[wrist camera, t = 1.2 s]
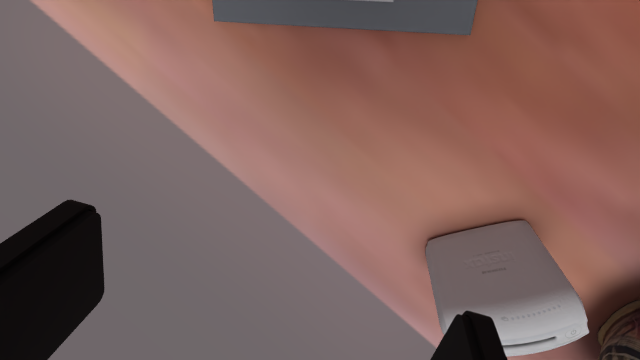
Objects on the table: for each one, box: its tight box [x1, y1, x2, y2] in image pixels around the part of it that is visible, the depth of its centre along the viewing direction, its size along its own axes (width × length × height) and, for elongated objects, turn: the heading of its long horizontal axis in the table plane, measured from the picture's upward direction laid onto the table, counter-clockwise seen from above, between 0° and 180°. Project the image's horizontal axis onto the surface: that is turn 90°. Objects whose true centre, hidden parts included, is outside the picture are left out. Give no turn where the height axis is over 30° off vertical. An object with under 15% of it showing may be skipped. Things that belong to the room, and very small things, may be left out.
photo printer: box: [425, 220, 589, 356], centre depth 31 cm, size 10×4×12 cm, turn 110°
